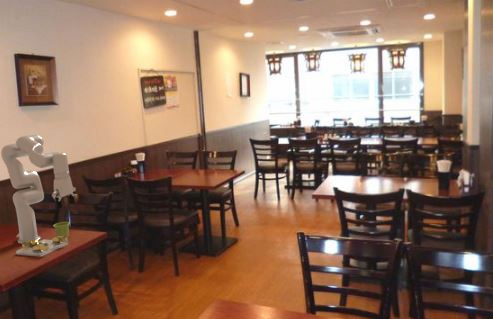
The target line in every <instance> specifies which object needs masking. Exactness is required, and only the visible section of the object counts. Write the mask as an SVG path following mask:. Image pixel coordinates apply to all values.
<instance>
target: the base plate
mask: <svg viewBox="0 0 493 319" xmlns="http://www.w3.org/2000/svg"><path fill="white" fill-rule="evenodd" d="M68 242H69V241H68ZM68 242H56V243H54V242H53V240H52V239H46V238H45V239H44V238H43V239H40V240H38V244H37V245H39V244H44V245H45V244H48V245H49V250H48V251H42V250H39V251H34V250H33V246H36V245H33V246H30V247H28V248H25V249H23V247H22V248H20V249H17V250H16V251H15V252H16V255H21V256H28V257H29V256H30V257H41V258H43V256H45V255H48V254H50V253H52V252H55V251H56V250H58V249H61V248H63V247H65V246H68V245H69V243H68Z"/></svg>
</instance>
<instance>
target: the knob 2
mask: <svg viewBox="0 0 493 319" xmlns="http://www.w3.org/2000/svg"><path fill="white" fill-rule="evenodd" d="M51 240H53V242H54V243H56V242H69V239H68V237H67V236H58V237H57V236H55V237H52V239H51Z"/></svg>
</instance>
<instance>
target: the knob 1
mask: <svg viewBox="0 0 493 319" xmlns="http://www.w3.org/2000/svg"><path fill="white" fill-rule="evenodd" d="M33 250H34V251H39V250H42V251H48V250H49V245H48V244H45V245H44V244H39V245H36V246H33Z"/></svg>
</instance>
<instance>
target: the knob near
mask: <svg viewBox="0 0 493 319" xmlns="http://www.w3.org/2000/svg"><path fill="white" fill-rule="evenodd" d="M38 242H39V240H29V241H27V242H23V243H22V244H21V246H22V248H23V249H25V248H28V247H30V246H33V245H37V244H38Z"/></svg>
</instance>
